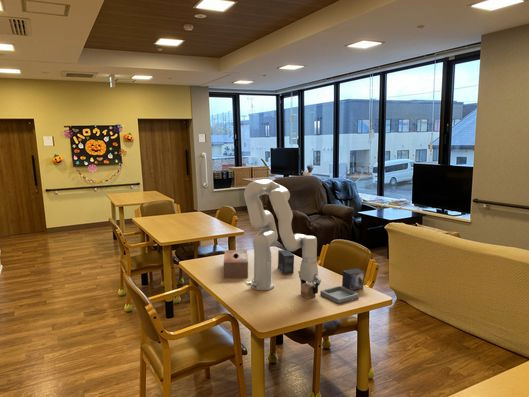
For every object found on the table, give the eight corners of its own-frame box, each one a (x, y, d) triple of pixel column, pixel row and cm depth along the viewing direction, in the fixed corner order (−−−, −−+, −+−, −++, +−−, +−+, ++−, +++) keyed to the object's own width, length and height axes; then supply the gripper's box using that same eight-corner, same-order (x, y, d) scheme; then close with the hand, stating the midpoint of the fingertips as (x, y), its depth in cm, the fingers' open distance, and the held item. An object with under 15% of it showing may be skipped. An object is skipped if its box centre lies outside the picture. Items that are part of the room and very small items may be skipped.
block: (307, 298, 200) (307, 287, 199) (300, 294, 205) (301, 284, 204) (315, 296, 203) (315, 285, 202) (308, 292, 208) (309, 282, 207)
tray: (338, 304, 193) (339, 299, 193) (320, 294, 205) (320, 290, 205) (358, 298, 201) (358, 293, 200) (339, 289, 212) (339, 285, 212)
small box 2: (348, 292, 208) (349, 274, 207) (341, 288, 214) (342, 270, 213) (363, 289, 213) (364, 271, 212) (356, 285, 219) (356, 267, 217)
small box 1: (294, 274, 237) (294, 255, 235) (283, 274, 236) (283, 255, 234) (287, 267, 250) (288, 249, 248) (277, 268, 248) (277, 250, 246)
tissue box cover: (247, 278, 229) (248, 262, 228) (223, 278, 228) (223, 262, 227) (246, 264, 255) (246, 250, 253) (225, 265, 254) (224, 250, 252)
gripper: (293, 256, 206) (293, 287, 209) (314, 264, 192) (314, 297, 194) (304, 254, 210) (304, 284, 213) (326, 262, 196) (325, 294, 198)
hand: (309, 290), depth 203 cm, fingers open, 9 cm apart
